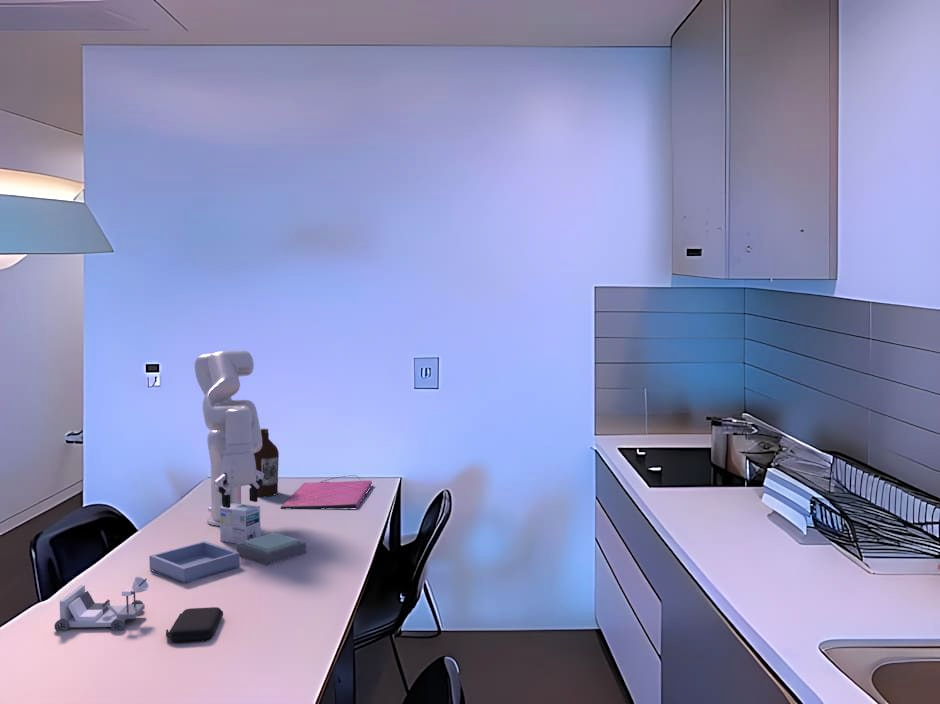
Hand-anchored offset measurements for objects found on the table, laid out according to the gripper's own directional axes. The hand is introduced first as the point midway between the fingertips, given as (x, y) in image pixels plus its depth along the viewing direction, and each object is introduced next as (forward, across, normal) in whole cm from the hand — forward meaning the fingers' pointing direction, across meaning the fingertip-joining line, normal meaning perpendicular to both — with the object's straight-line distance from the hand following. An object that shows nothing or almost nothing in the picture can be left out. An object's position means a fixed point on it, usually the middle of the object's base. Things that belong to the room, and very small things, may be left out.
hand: (240, 504), depth 239 cm
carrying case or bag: (+14, +45, +47) cm, 67 cm away
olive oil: (+10, -41, -44) cm, 61 cm away
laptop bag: (+11, -56, -23) cm, 61 cm away
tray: (+12, +23, +11) cm, 28 cm away
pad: (+9, +2, +17) cm, 20 cm away
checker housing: (+12, +2, +17) cm, 21 cm away
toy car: (+14, +55, +27) cm, 63 cm away
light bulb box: (+12, 0, -1) cm, 12 cm away
